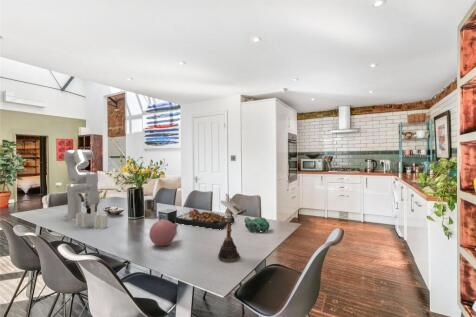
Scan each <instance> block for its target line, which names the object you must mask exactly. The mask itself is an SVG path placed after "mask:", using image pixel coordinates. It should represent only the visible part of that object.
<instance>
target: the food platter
mask: <svg viewBox="0 0 476 317" xmlns="http://www.w3.org/2000/svg"><path fill="white" fill-rule="evenodd" d="M225 216H226V215H221V214H219V213H214V212H207V211H203V212H200V211H199V209H197V208H193V210H191V209H189V211H188V212H184V213H183V214H180V215H177V216H175V217H176V223H178V224H177V225H182V224H184V225H183V226H188V225H192V226H191V227H195V226H199V227H198V228H201V227H205V228H204V229H208V228H212V229H211V230H214V229H219V230H218V231H221V230H220V229H222V228H223V229H225V228H226V227H225V226H227V222H225V218H224V217H225ZM233 222H234V223H235V217H234V218H233ZM231 223H232V222H231ZM232 224H233V223H232ZM224 227H225V228H224ZM223 229H222V230H223Z"/></svg>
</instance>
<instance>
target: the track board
mask: <svg viewBox="0 0 476 317" xmlns="http://www.w3.org/2000/svg"><path fill="white" fill-rule="evenodd" d="M78 228H81V229H85V228H88V229H92V228H93V229H94V230H97V229H101V227H99V228H96V229H95V228H94V225H92V226H90V227H89V226H87V227H84V228H82V226H79V227H78ZM105 229H106V228H104V229H103V230H105Z"/></svg>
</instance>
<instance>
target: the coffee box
mask: <svg viewBox="0 0 476 317" xmlns="http://www.w3.org/2000/svg"><path fill="white" fill-rule="evenodd" d="M157 201H158V200H157V199H156V198H155V199H154V198H152V199H145V200H144V201H143V202H144V204H143V206H144V208H143V209H144V212H143V214H144V218H143V219H144V220H146V219H147V220H149V219H150V220H151V219H152V220H154V218H155V219H157V218H158V211H157V210H158V202H157Z"/></svg>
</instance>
